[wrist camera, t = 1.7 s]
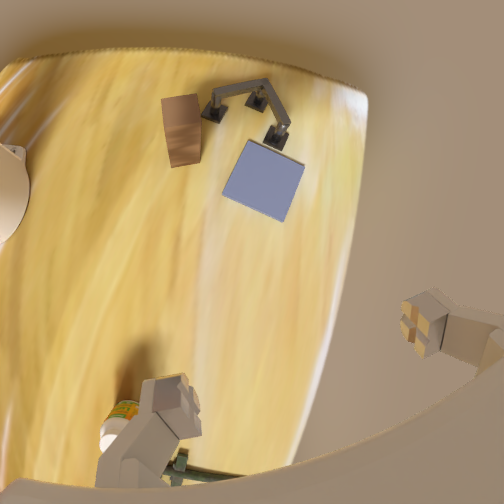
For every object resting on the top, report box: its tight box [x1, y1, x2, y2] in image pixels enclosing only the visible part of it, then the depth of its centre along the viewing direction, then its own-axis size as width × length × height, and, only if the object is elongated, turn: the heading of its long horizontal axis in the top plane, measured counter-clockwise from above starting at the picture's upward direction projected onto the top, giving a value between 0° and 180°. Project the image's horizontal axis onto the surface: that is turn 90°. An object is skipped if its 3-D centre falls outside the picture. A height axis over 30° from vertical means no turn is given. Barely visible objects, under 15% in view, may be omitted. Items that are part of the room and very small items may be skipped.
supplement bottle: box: [99, 400, 139, 453], centre depth 29 cm, size 5×5×10 cm
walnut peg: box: [161, 94, 202, 168], centre depth 34 cm, size 4×4×11 cm
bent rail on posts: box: [201, 78, 291, 151], centre depth 40 cm, size 13×8×6 cm, turn 67°
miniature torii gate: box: [160, 453, 239, 487], centre depth 33 cm, size 22×2×15 cm
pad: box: [222, 141, 305, 222], centre depth 41 cm, size 9×9×1 cm
